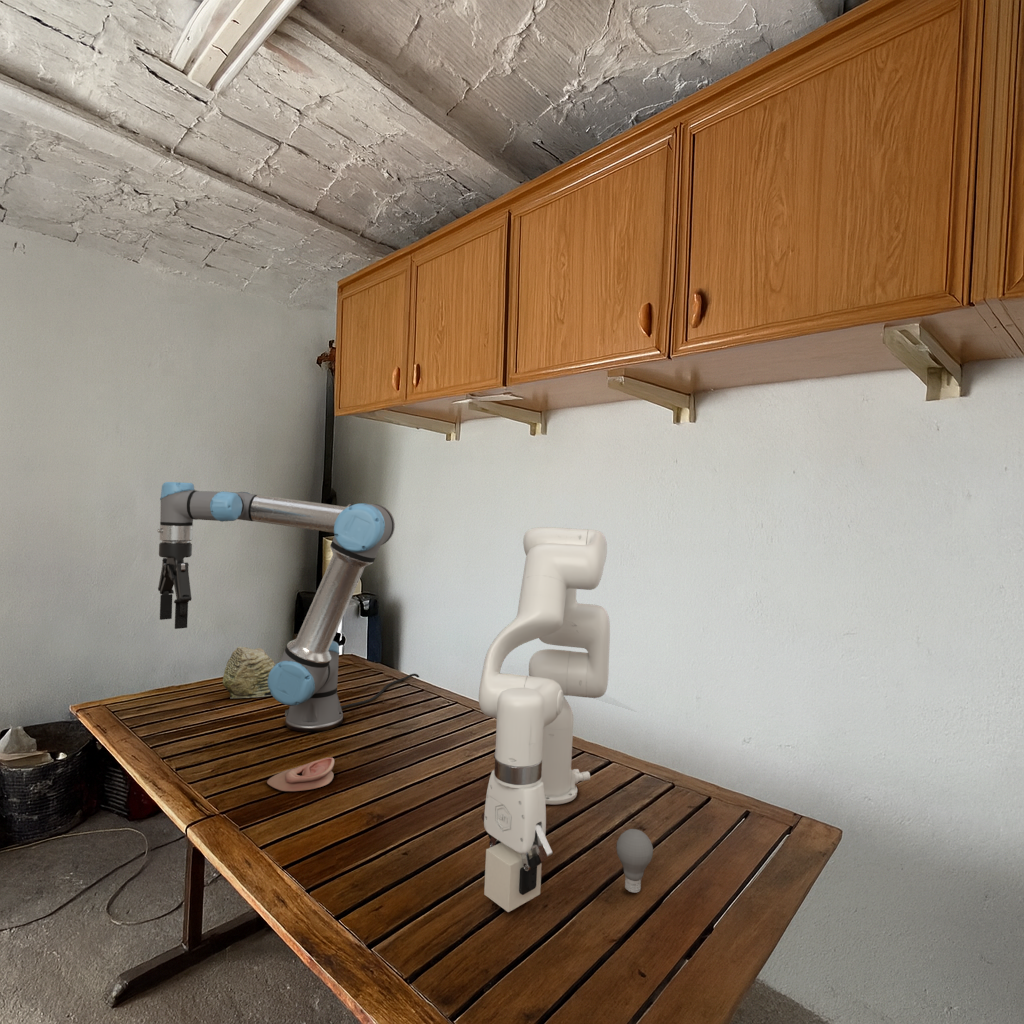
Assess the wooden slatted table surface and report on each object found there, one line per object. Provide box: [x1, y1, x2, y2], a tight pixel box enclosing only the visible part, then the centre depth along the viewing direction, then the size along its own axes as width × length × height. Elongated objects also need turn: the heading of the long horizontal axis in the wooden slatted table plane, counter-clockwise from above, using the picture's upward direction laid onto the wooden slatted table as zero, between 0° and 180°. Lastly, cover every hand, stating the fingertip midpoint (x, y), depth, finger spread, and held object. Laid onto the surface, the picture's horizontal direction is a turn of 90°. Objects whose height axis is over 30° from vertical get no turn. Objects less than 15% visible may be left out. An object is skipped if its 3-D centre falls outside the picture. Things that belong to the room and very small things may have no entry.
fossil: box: [222, 646, 276, 699], centre depth 198 cm, size 9×18×15 cm, turn 132°
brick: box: [483, 842, 543, 913], centre depth 101 cm, size 6×7×7 cm
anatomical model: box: [266, 757, 335, 792], centre depth 140 cm, size 13×4×12 cm
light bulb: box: [615, 828, 654, 894], centre depth 106 cm, size 6×6×10 cm
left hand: (173, 623), depth 164 cm, fingers open, 13 cm apart
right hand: (513, 879), depth 101 cm, fingers open, 5 cm apart
